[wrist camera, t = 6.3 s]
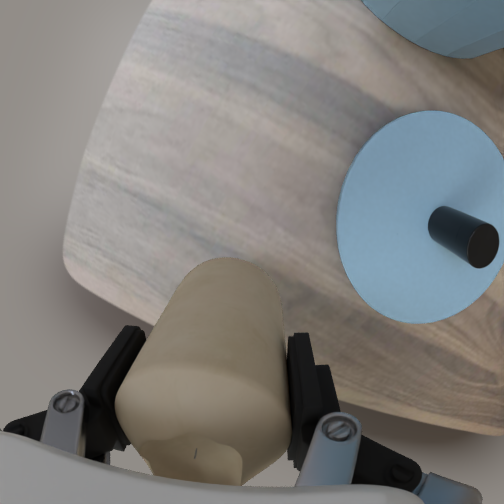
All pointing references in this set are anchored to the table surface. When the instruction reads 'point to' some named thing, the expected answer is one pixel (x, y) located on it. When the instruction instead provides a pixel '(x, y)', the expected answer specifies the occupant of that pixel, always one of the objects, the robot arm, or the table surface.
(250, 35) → the table surface
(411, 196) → the lid
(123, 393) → the candle
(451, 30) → the pot
